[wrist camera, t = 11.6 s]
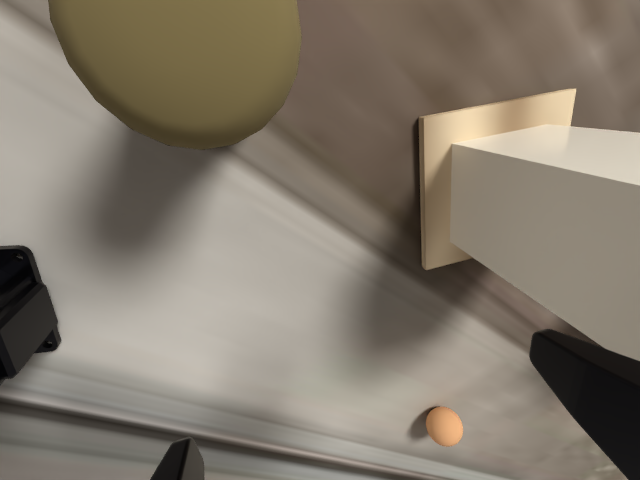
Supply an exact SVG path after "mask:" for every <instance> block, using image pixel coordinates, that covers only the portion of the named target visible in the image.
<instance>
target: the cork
mask: <svg viewBox="0 0 640 480" xmlns="http://www.w3.org/2000/svg"><path fill="white" fill-rule="evenodd" d="M48 2H49V12H50V20H51V23H52V25H53V28H54V30H55V32H56V35H57V37H58V40H59V42H60V45H61V47H62V49H63V52H64V54H65V57H66V59H67V62H68V64H69V65H70V67H71V68H72V69H73V71H74V72H75V73H76V75H77V76H78V77H79V79H80V80H81V81H82V83H83V84H84V85H85V87H86V88H87V89H88V91H89V92H90V93H91V95H92V96H93V97H94V99H95V100H96V101H97V102H98V103H99V104H101V105H102V106H103V107H104V108H106V109H107V110H108V111H109V112H111V113H112V114H113V115H114V116H116V117H117V118H118V119H119V120H121V121H122V122H123V123H124V124H126V125H127V126H128V127H129V128H131V129H132V130H134V131H137V132H139V133H141V134H143V135H146V136H148V137H150V138H152V139H155V140H157V141H159V142H162V143H164V144H166V145H169V146H177V147H184V148H192V149H199V150H205V149H211V148H216V147H222V146H228V145H233V144H236V143H238V142H239V141H241V140H243V139H245V138H247V137H249V136H250V135H252V134H254V133H256V132H258V131H259V130H261V129H262V128H263V127H264V126H265V125H266V124H267V123H268V122H269V121H270V120H271V118H272V117H273V116H274V115H275V114H276V113H277V112H278V111H279V110H280V108H281V107H282V106H283V105H284V103H285V100H286V98H287V96H288V94H289V91H290V89H291V87H292V85H293V82H294V80H295V78H296V76H297V71H298V63H299V55H300V47H301V40H302V36H301V29H300V21H299V14H298V7H297V0H48Z"/></svg>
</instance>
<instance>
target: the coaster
mask: <svg viewBox="0 0 640 480" xmlns="http://www.w3.org/2000/svg"><path fill="white" fill-rule="evenodd" d="M575 94H576V89H565V90H560V91H554V92H549V93H544V94H538V95H533V96H528V97H523V98H517V99H512V100H507V101H501V102H496V103H491V104H486V105H480V106H475V107H470V108H465V109H459V110H454V111H449V112H443V113H438V114H433V115H428V116H422V117H419V159H420V206H421V252H422V267H423V268H424V269H425V270H429V269H433V268H437V267H440V266H444V265H448V264H452V263H456V262H460V261H463V260H467V259H471V258H473V257H471V256H470V255H469V254H467V253H466V252H464V251H463V250H461V249H460V248H458V247H457V246H455V245H454V244H453V243H451V242H450V211H451V167H452V143H457V142H462V141H467V140H472V139H477V138H482V137H487V136H492V135H497V134H502V133H507V132H512V131H517V130H522V129H527V128H531V127H536V126H541V125H546V124H550V125H560V126H570V124H571V118H572V112H573V106H574V100H575Z"/></svg>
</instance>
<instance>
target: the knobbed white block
mask: <svg viewBox="0 0 640 480" xmlns="http://www.w3.org/2000/svg"><path fill="white" fill-rule="evenodd" d="M450 242H451V243H453V244H454V245H455V246H457V247H458V248H460V249H461V250H463V251H464V252H466V253H467V254H469V255H470V256H471V257H473V258H474V259H476V260H477V261H479V262H480V263H482V264H483V265H484V266H486V267H487V268H489V269H490V270H492V271H493V272H495V273H496V274H498V275H499V276H500V277H502V278H503V279H505V280H506V281H508V282H509V283H511V284H512V285H514V286H515V287H516V288H518V289H519V290H521V291H522V292H524V293H525V294H527V295H528V296H530V297H531V298H532V299H534V300H535V301H537V302H538V303H540V304H541V305H543V306H544V307H546V308H547V309H548V310H550V311H551V312H553V313H554V314H556V315H557V316H559V317H560V318H562V319H563V320H564V321H566V322H567V323H569V324H570V325H572V326H573V327H575V328H576V329H577V330H579V331H580V332H582V333H583V334H585V335H586V336H588V337H589V338H591V339H592V340H593V341H595V342H596V343H598V344H599V345H601V346H602V347H604V348H605V349H607V350H610V351H613V352H616V353H619V354H621V355H624V356H627V357H630V358H633V359H635V360H638V361H640V133H635V132H625V131H614V130H603V129H593V128H582V127H571V126H560V125H550V124H546V125H541V126H536V127H531V128H527V129H522V130H517V131H512V132H507V133H502V134H497V135H492V136H487V137H482V138H477V139H472V140H467V141H462V142H457V143H452V167H451V211H450Z"/></svg>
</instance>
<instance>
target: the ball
mask: <svg viewBox="0 0 640 480" xmlns="http://www.w3.org/2000/svg"><path fill="white" fill-rule="evenodd" d="M426 428H427V431H428V433H429V435H430V437H431V438H432V439H433V440H434V441H435V442H436V443H438V444H439V445H442V446H447V447H448V446H453V445H455V444H457V443H458V442H459V441H460V439H461V437H462V434H463V426H462V422H461V420H460V418H459V417H458V415H457V414H456V413H455V412H454V411H452V410H451V409H449V408H446V407H437V408H434V409H433V410H431V411H430V413H429V414H428V416H427V419H426Z"/></svg>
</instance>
